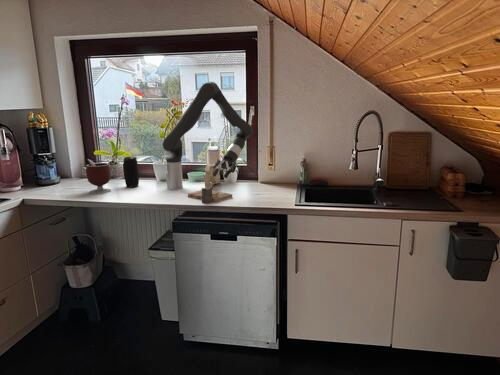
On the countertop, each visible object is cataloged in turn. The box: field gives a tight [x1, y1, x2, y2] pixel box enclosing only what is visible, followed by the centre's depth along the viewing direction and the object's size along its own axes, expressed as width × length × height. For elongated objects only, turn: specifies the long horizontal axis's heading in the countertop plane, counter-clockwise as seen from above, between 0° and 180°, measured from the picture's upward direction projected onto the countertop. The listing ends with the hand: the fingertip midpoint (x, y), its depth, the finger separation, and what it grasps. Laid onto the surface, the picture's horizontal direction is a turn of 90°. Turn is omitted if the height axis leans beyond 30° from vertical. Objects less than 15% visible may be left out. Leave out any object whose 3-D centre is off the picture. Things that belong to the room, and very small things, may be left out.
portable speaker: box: [122, 156, 140, 189], centre depth 235 cm, size 9×9×20 cm
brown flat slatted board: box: [187, 189, 233, 203], centre depth 206 cm, size 22×14×2 cm, turn 51°
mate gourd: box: [85, 158, 112, 195], centre depth 222 cm, size 16×14×20 cm
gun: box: [204, 163, 221, 188], centre depth 235 cm, size 24×3×15 cm, turn 168°
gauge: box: [201, 187, 219, 205], centre depth 195 cm, size 4×10×8 cm, turn 141°
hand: (219, 176), depth 198 cm, fingers open, 8 cm apart
